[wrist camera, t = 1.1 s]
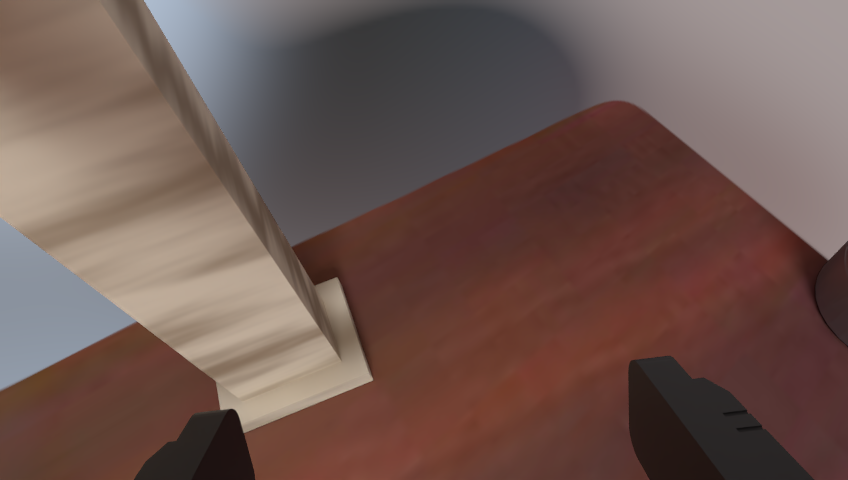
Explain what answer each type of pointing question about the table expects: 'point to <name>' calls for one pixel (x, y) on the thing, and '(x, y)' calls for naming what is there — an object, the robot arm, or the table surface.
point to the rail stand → (160, 206)
